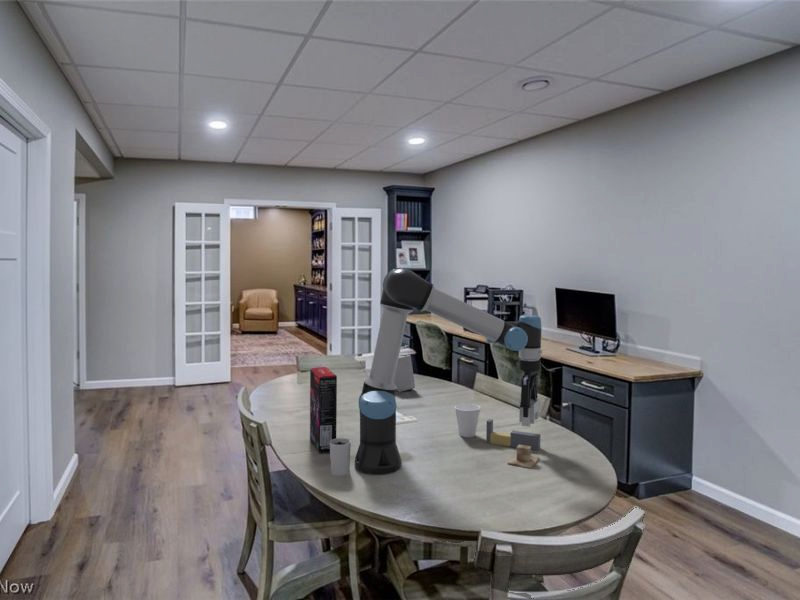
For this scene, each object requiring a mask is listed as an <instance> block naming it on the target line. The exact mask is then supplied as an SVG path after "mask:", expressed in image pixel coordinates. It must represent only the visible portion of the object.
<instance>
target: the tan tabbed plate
mask: <svg viewBox="0 0 800 600" xmlns="http://www.w3.org/2000/svg"><path fill="white" fill-rule="evenodd" d="M531 453H532V450H531V446H526V445H520V444H519V445H518V446H517V447H516V452H515V453H514V454H513V456H512V457H511V458H510V459H509V461H508V462H507V465H509V466H514V467H516V466H517V467H521V468H526V469H533V468H534V467H535V465H536V463H537V462H538V461H539V459H540V456H536V455H532V454H531Z"/></svg>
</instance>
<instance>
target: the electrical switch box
mask: <svg viewBox="0 0 800 600" xmlns="http://www.w3.org/2000/svg"><path fill="white" fill-rule="evenodd" d="M394 384H395V385H396V387H397V389H396V392H398V393H401V392H405V391H409V390H413V389H416V383H415V377H414V370H413V362H412V355H411V354H410V355H407V356H399V358H398V363H397V368H396V373H395V377H394Z"/></svg>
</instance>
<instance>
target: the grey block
mask: <svg viewBox="0 0 800 600" xmlns="http://www.w3.org/2000/svg"><path fill="white" fill-rule="evenodd" d="M539 404H540V399H539V398H537V399H532V398H530V407H529V408H530V425H531V424H533V425H535V423H536V420H539V418H540V417H539V415H540V414H539V413H540V411H539V409H540V405H539ZM520 405H521V401H519V420H518V421H519V423H522V408H521V407H520ZM535 419H536V420H535Z"/></svg>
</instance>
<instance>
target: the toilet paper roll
mask: <svg viewBox="0 0 800 600" xmlns="http://www.w3.org/2000/svg"><path fill="white" fill-rule="evenodd" d="M351 445H352V441H351V439H349V438H345V437H338V438H337V437H336V439H332V440H330V452H329V455H330V456H329V457H330V473H331V475H332V476H335V477H343V476H347V475H349V474H350V468H351V448H352V447H351Z"/></svg>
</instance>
